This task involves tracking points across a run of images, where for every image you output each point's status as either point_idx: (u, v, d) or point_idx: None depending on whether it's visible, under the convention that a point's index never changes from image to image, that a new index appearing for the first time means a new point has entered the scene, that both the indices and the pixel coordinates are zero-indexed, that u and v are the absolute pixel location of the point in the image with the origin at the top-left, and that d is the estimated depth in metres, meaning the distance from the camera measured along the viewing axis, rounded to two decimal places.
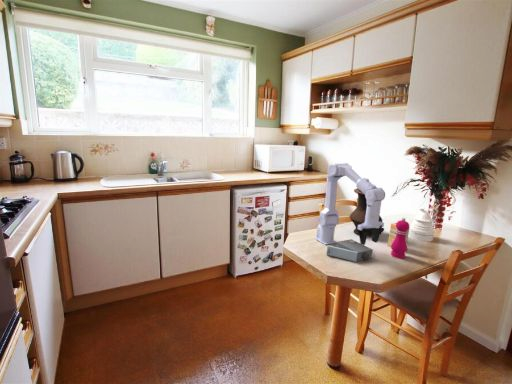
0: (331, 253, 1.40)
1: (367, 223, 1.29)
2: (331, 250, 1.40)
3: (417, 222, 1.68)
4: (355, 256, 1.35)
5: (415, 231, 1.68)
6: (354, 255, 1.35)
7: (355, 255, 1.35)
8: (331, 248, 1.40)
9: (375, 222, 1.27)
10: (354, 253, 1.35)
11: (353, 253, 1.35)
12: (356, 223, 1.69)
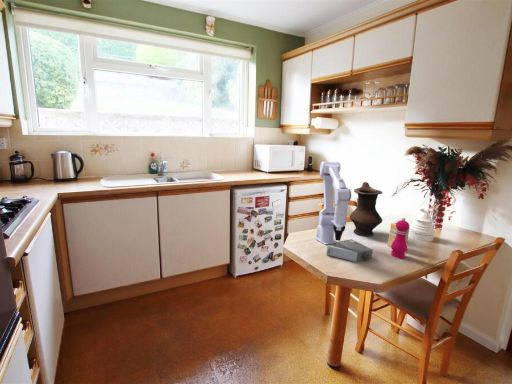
0: (331, 253, 1.40)
1: None
2: (331, 250, 1.40)
3: (417, 222, 1.68)
4: (355, 256, 1.35)
5: (415, 231, 1.68)
6: (354, 255, 1.35)
7: (355, 255, 1.35)
8: (331, 248, 1.40)
9: None
10: (354, 253, 1.35)
11: (353, 253, 1.35)
12: (356, 223, 1.69)
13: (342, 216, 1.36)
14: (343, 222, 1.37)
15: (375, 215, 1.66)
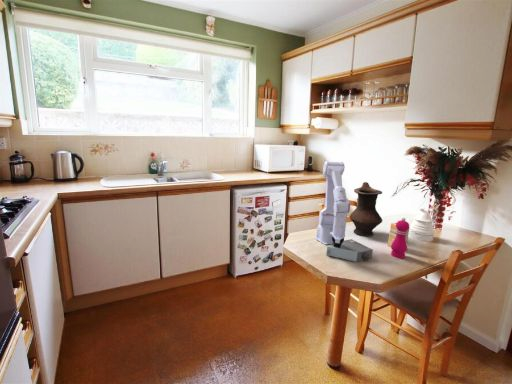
0: (331, 253, 1.40)
1: None
2: (331, 250, 1.40)
3: (417, 222, 1.68)
4: (355, 256, 1.35)
5: (415, 231, 1.68)
6: (354, 255, 1.35)
7: (355, 255, 1.35)
8: (331, 248, 1.39)
9: None
10: (354, 253, 1.35)
11: (353, 253, 1.35)
12: (356, 223, 1.69)
13: (341, 228, 1.35)
14: (342, 234, 1.36)
15: (375, 215, 1.66)
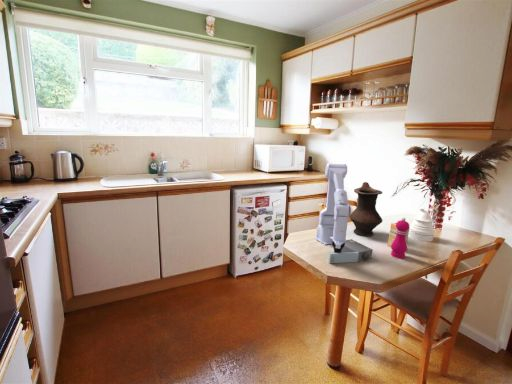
0: (334, 260, 1.33)
1: None
2: (334, 257, 1.32)
3: (417, 222, 1.68)
4: (357, 256, 1.34)
5: (415, 231, 1.68)
6: (355, 256, 1.34)
7: (357, 255, 1.34)
8: (334, 255, 1.32)
9: None
10: (356, 254, 1.34)
11: (355, 254, 1.34)
12: (356, 223, 1.69)
13: (341, 233, 1.29)
14: (342, 239, 1.30)
15: (375, 215, 1.66)
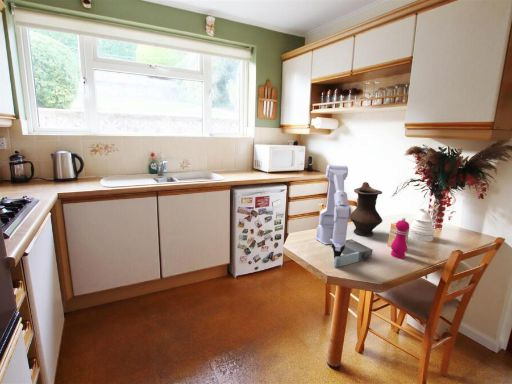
0: None
1: None
2: None
3: (417, 222, 1.68)
4: (357, 257, 1.34)
5: (415, 231, 1.68)
6: (356, 257, 1.34)
7: (358, 255, 1.34)
8: (339, 258, 1.29)
9: None
10: (357, 254, 1.34)
11: (356, 254, 1.33)
12: (356, 223, 1.69)
13: (341, 235, 1.26)
14: (342, 241, 1.27)
15: (375, 215, 1.66)
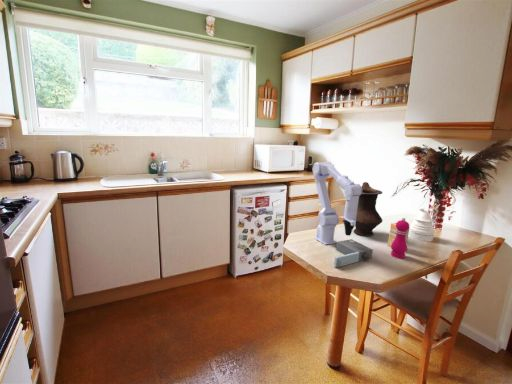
0: None
1: None
2: None
3: (417, 222, 1.68)
4: (357, 257, 1.34)
5: (415, 231, 1.68)
6: (356, 257, 1.34)
7: (358, 255, 1.34)
8: (340, 258, 1.29)
9: (344, 213, 1.42)
10: (357, 254, 1.34)
11: (356, 254, 1.33)
12: (356, 223, 1.69)
13: (354, 211, 1.38)
14: (354, 217, 1.39)
15: (375, 215, 1.66)
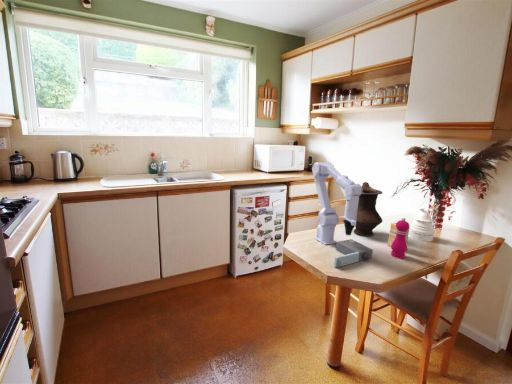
0: None
1: None
2: None
3: (417, 222, 1.68)
4: (357, 257, 1.34)
5: (415, 231, 1.68)
6: (356, 257, 1.34)
7: (358, 255, 1.34)
8: (340, 258, 1.29)
9: None
10: (357, 254, 1.34)
11: (356, 254, 1.33)
12: (356, 223, 1.69)
13: (354, 211, 1.39)
14: (355, 217, 1.40)
15: (375, 215, 1.66)
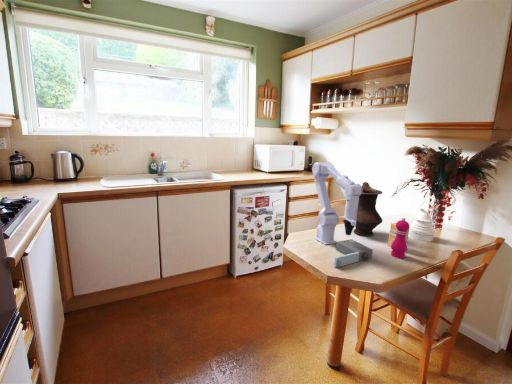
0: None
1: None
2: None
3: (417, 222, 1.68)
4: (357, 257, 1.34)
5: (415, 231, 1.68)
6: (356, 257, 1.34)
7: (358, 255, 1.34)
8: (340, 258, 1.29)
9: None
10: (357, 254, 1.34)
11: (356, 254, 1.33)
12: (356, 223, 1.69)
13: (354, 211, 1.39)
14: (355, 217, 1.40)
15: (375, 215, 1.66)
